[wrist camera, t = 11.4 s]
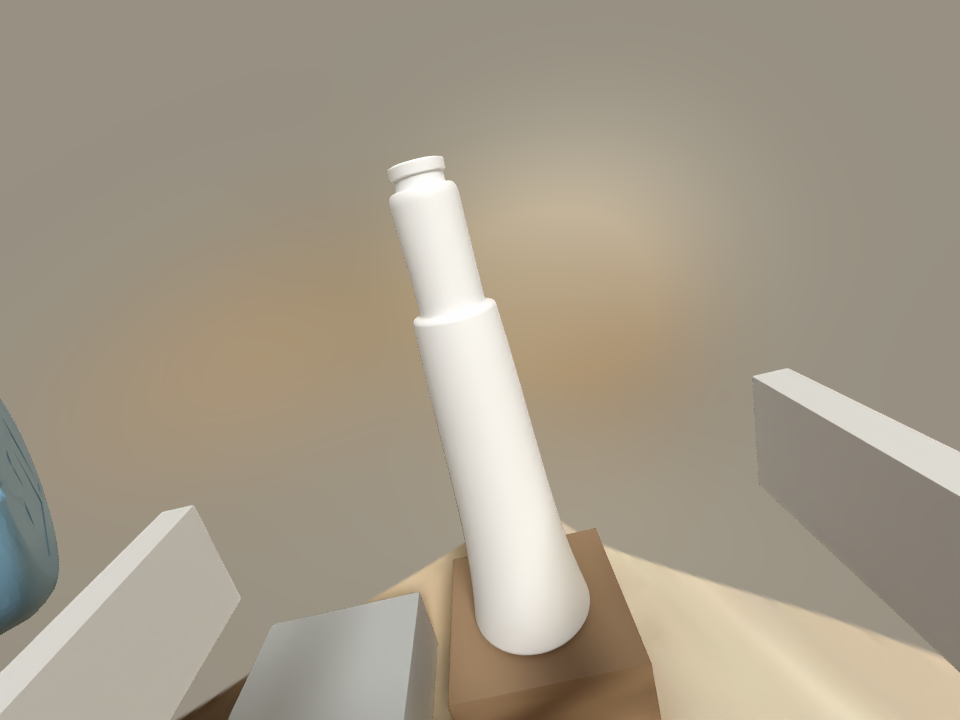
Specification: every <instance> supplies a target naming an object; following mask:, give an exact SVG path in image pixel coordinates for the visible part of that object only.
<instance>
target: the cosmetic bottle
mask: <svg viewBox="0 0 960 720" xmlns="http://www.w3.org/2000/svg"><path fill="white" fill-rule="evenodd" d="M443 169H445V164H444V160H443V157H441V156H428V157H422V158H418V159H414V160H410V161H406V162H403V163H400V164H397V165H395V166H393V167H391V168H390V169H388V170H387V174H388V178H389V181H390V182H392V183H393V184H394V187H395V191H396V194H394V195H392V196H391V197H390V200H389V207H390V211H391V214H392V218H393V221H394V225H395V228H396V232H397V235H398V238H399V242H400V245H401V249H402V252H403V256H404V259H405V262H406V266H407V269H408V272H409V276H410V280H411V283H412V286H413V290H414V293H415V297H416V300H417V304H418V307H419V310H420V314H421V315H419V316H418V317H417V318H416V319H415V320H414V322H413V325H414V330H415V334H416V339H417V343H418V348H419V352H420V356H421V361H422V365H423V369H424V373H425V377H426V382H427V385H428V390H429V394H430V398H431V402H432V406H433V410H434V414H435V418H436V422H437V426H438V430H439V434H440V438H441V442H442V446H443V450H444V454H445V458H446V462H447V466H448V470H449V474H450V478H451V482H452V486H453V490H454V494H455V498H456V503H457V507H458V511H459V516H460V520H461V525H462V529H463V534H464V539H465V544H466V549H467V555H468V560H469V566H470V573H471V580H472V587H473V596H474V607H475V617H476V622H477V625H478V628H479V630H480V631H481V633H482V635H483V636H484V637H485V639H486V640H488V641H489V642H490V643H491V644H492V645H493V646H495V647H496V648H498V649H500V650H502V651H505V652H508V653H511V654H516V655H537V654H542V653H546V652H549V651H552V650H554V649H556V648H558V647H560V646H562V645H563V644H565V643H566V642H568V641H569V640H570V639H571V638H573V637H574V636H575V635H576V634H577V632H578V631H579V630H580V629H581V627H582V625H583V624H584V622H585V620H586V618H587V615H588V612H589V606H590V595H589V590H588V587H587V584H586V582H585V580H584V578H583V575H582V573H581V571H580V569H579V567H578V564H577V562H576V560H575V557H574V555H573V553H572V550H571V548H570V545H569V542H568V540H567V537H566V535H565V532H564V529H563V526H562V523H561V521H560V518H559V515H558V512H557V509H556V506H555V503H554V499H553V496H552V493H551V490H550V486H549V483H548V480H547V477H546V473H545V470H544V466H543V463H542V460H541V456H540V452H539V449H538V446H537V442H536V439H535V435H534V431H533V428H532V424H531V421H530V417H529V414H528V410H527V407H526V404H525V400H524V396H523V392H522V389H521V385H520V382H519V379H518V375H517V371H516V368H515V365H514V361H513V358H512V355H511V351H510V348H509V344H508V341H507V338H506V335H505V331H504V328H503V325H502V321H501V318H500V315H499V311H498V309H497V305H496V302H495V301H494V300H493V299H490V298H484V294H483V290H482V285H481V281H480V277H479V273H478V270H477V265H476V261H475V257H474V253H473V249H472V244H471V240H470V236H469V232H468V228H467V224H466V220H465V216H464V212H463V208H462V203H461V199H460V195H459V191H458V188H457V186H456V185H455V183H454V182H453V181H450V180H449V181H445V177H444V174H443Z"/></svg>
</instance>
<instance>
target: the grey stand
mask: <svg viewBox="0 0 960 720" xmlns="http://www.w3.org/2000/svg"><path fill="white" fill-rule="evenodd" d="M437 645H438V642H437V640H436V637H435V634H434V631H433V628H432V626H431V623H430V620H429V617H428V614H427V612H426V609H425V606H424V603H423V601H422V598H421V595H420V592H416V593H412V594H407V595H403V596H398V597H394V598H389V599H385V600H380V601H376V602H371V603H367V604H362V605H358V606H353V607H349V608H344V609H340V610H336V611H331V612H326V613H322V614H317V615H313V616H309V617H304V618H299V619H295V620H291V621H286V622H281V623H277V624H273V625H272V627H271V629H270V631H269V633H268V635H267V638H266V640H265V642H264V644H263V646H262V648H261V650H260V652H259V654H258V657H257V659H256V661H255V663H254V665H253V667H252V669H251V671H250V674H249V676H248V678H247V680H246V682H245V684H244V686H243V688H242V691H241V693H240V695H239V697H238V699H237V701H236V703H235V705H234V708H233V710H232V712H231V714H230V716H229V718H228V720H433V706H434V691H435V675H436V660H437Z"/></svg>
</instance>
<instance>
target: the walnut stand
mask: <svg viewBox="0 0 960 720" xmlns="http://www.w3.org/2000/svg"><path fill="white" fill-rule="evenodd" d="M566 537H567V540H568V542H569V545H570V548H571V550H572V553H573V555H574V557H575V560H576V562H577V564H578V567H579V569H580V571H581V573H582V575H583V578H584V580H585V582H586V584H587V587H588V590H589V595H590V606H589V612H588V615H587V618H586V620H585V622H584V624H583V625H582V627H581V629H580V630H579V631H578V632H577V634H576V635H575V636H574V637H573V638H571V639H570V640H569V641H568V642H566V643H565V644H563V645H562V646H560V647H558V648H556V649H554V650H552V651H549V652H546V653H542V654H537V655H516V654H511V653H508V652H505V651H502V650H500V649H498V648H496V647H495V646H493V645H492V644H491V643H490V642H489V641H488V640H486V639H485V637H484V636H483V635H482V633H481V631H480V630H479V628H478V625H477V622H476V617H475V607H474V596H473V587H472V580H471V573H470V566H469V560H468V557H465V558H460V559H456V560H453V587H452V616H451V644H450V673H449V701H448V706H449V709H450V712H451V714H452V717H453V720H661V715H660V710H659V704H658V698H657V693H656V687H655V682H654V676H653V670H652V665H651V661H650V659H649V657H648V654H647V652H646V649H645V647H644V644H643V642H642V640H641V637H640V635H639V632H638V630H637V627H636V625H635V623H634V620H633V618H632V615H631V613H630V610H629V608H628V606H627V603H626V601H625V598H624V596H623V594H622V591H621V589H620V586H619V584H618V581H617V579H616V577H615V574H614V572H613V569H612V567H611V564H610V562H609V560H608V557H607V555H606V552H605V550H604V547H603V545H602V543H601V540H600V538H599V536H598V533H597V531H596V528H594V529H590V530H585V531H580V532H576V533H571V534H567V535H566Z"/></svg>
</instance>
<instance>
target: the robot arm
mask: <svg viewBox="0 0 960 720" xmlns="http://www.w3.org/2000/svg"><path fill="white" fill-rule="evenodd" d="M752 382H753V398H754V414H755V430H756V445H757V462H758V476H759V477H758V478H759V485H760V486H761V487H762V488H763V489H764V490H765V491H766V492H767V493H769V495H771V496H772V497H773V498H774V499H775V500H776V501H777V502H778V503H779V504H780V505H781V506H782V507H784V508H785V509H786V510H787V511H788V512H789V513H790V514H791V515H792V516H793V517H794V518H795V519H796V520H797V521H798V522H799V523H801V524H802V525H803V526H804V527H805V528H806V529H807V530H808V531H809V532H810V533H811V534H812V535H813V536H814V537H816V538H817V539H818V540H819V541H820V542H821V543H822V544H823V545H824V546H825V547H826V548H827V549H828V550H829V551H830V552H832V553H833V554H834V555H835V556H836V557H837V558H838V559H839V560H840V561H841V562H843V564H844V565H846V566H847V567H848V568H849V569H850V570H851V571H852V572H853V573H854V574H855V575H856V576H857V577H858V578H860V580H861V581H863V582H864V583H865V584H866V585H867V586H868V587H869V588H870V589H871V590H872V591H873V592H874V593H875V594H876V595H878V596H879V597H880V598H881V599H882V600H883V601H884V602H885V603H886V604H887V605H888V606H889V607H890V608H891V609H893V610H894V611H895V612H896V613H897V614H898V615H899V616H900V617H901V618H902V619H903V620H904V621H905V622H906V623H908V624H909V625H910V626H911V627H912V628H913V629H914V630H915V631H916V632H917V633H919V635H920V636H921V637H923V638H924V639H925V640H926V641H927V642H928V643H929V644H930V645H931V646H932V647H933V648H934V649H935V650H937V652H939V653H940V654H941V655H942V656H943V657H944V658H945V659H946V660H947V661H948V662H949V663H950V664H951V665H952V666H954V667H955V668H956V669H957V670H958V671H959V672H960V452H959V451H957V450H954V449H952V448H950V447H948V446H946V445H944V444H942V443H940V442H938V441H936V440H934V439H932V438H930V437H928V436H926V435H924V434H922V433H919V432H918V431H916V430H913V429H911V428H909V427H907V426H905V425H903V424H901V423H899V422H897V421H895V420H893V419H891V418H889V417H887V416H885V415H883V414H881V413H878V412H877V411H875V410H873V409H870V408H868V407H866V406H864V405H862V404H860V403H858V402H856V401H854V400H852V399H850V398H848V397H846V396H844V395H842V394H840V393H837V392H836V391H834V390H832V389H830V388H828V387H825V386H823V385H821V384H819V383H817V382H815V381H813V380H811V379H809V378H807V377H805V376H803V375H801V374H799V373H797V372H795V371H793V370H790V369H789V368H786V369H782V370H778V371H773V372H769V373H765V374H760V375H757V376H752ZM58 572H59V556H58V548H57V541H56V536H55V531H54V527H53V522H52V519H51V515H50V511H49V508H48V505H47V502H46V498H45V495H44V491H43V488H42V486H41V483H40V480H39V477H38V475H37V472H36V469H35V466H34V464H33V461H32V459H31V456H30V454H29V452H28V449H27V447H26V445H25V443H24V440H23V438H22V436H21V434H20V432H19V430H18V428H17V426H16V424H15V422H14V421H13V419H12V417H11V415H10V413H9V412H8V410H7V408H6V407H5V405H4V404H3V402H2V401H1V399H0V635H1V634H3V633H5V632H7V631H8V630H10V629H12V628H13V627H15V626H17V625H19V624H20V623H22V622H24V621H25V620H27V619H29V618H30V617H31V616H33V615H34V614H35V613H36V612H37V611H38V610H39V608H40V607H41V606H42V605H43V604H44V603H45V602H46V600H47V599H48V598H49V596H50V595H51V593H52V592H53V590H54V589H55V586H56V583H57V579H58ZM240 599H241V597H240V595H239V593H238V591H237V589H236V587H235V585H234V583H233V581H232V579H231V578H230V575H229V573H228V571H227V569H226V568H225V566H224V564H223V562H222V560H221V558H220V556H219V554H218V552H217V550H216V548H215V546H214V544H213V542H212V540H211V538H210V536H209V534H208V532H207V530H206V528H205V526H204V524H203V522H202V520H201V518H200V516H199V514H198V512H197V510H196V508H195V506H194V505H191V506H187V507H183V508H178V509H174V510H169V511H166V512H162V513H161V514H160V515H159V516H158V517H157V518H156V519H155V520H154V521H153V522H152V523H151V524H150V525H149V526H148V527H147V528H146V529H145V530H144V531H143V532H142V533H141V534H140V535H139V536H138V537H137V538H136V539H135V540H134V541H132V542H131V544H129V545H128V546H127V547H126V548H125V549H124V550H123V551H122V552H121V553H120V554H119V555H118V556H117V557H116V558H115V559H114V561H112V562H111V563H110V564H109V565H108V566H107V567H106V568H105V569H104V570H103V571H102V573H100V574H99V575H98V576H97V577H96V578H95V579H94V580H93V581H92V582H91V583H90V584H89V585H88V586H87V587H86V588H85V589H84V590H83V591H82V592H81V593H80V594H79V595H78V596H77V597H76V598H75V599H74V600H73V601H72V602H71V603H70V604H69V605H68V606H67V607H66V608H65V609H64V610H63V611H62V612H61V613H60V614H59V615H58V616H57V617H56V618H55V619H54V620H53V621H52V622H51V623H50V624H49V625H48V626H47V627H46V628H45V629H44V630H43V631H42V632H41V633H40V634H39V635H38V636H37V637H36V638H35V639H34V640H33V641H32V642H31V643H30V644H29V645H28V646H27V647H26V648H25V649H24V650H23V651H22V652H21V653H20V654H19V655H18V656H17V657H16V658H15V659H13V661H11V662H10V664H9V665H7V666H6V667H5V668H4V669H3V670H2V671H1V672H0V720H171V718H172V717H173V715H174V713H175V712H176V710H177V708H178V706H179V704H180V703H181V701H182V699H183V698H184V696H185V694H186V693H187V691H188V689H189V687H190V686H191V684H192V682H193V680H194V679H195V677H196V675H197V674H198V672H199V670H200V668H201V667H202V665H203V663H204V661H205V660H206V658H207V656H208V655H209V653H210V651H211V649H212V648H213V646H214V644H215V642H216V641H217V639H218V637H219V635H220V634H221V632H222V630H223V629H224V627H225V625H226V624H227V622H228V620H229V618H230V617H231V615H232V613H233V612H234V610H235V608H236V606H237V605H238V603H239V601H240Z"/></svg>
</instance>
